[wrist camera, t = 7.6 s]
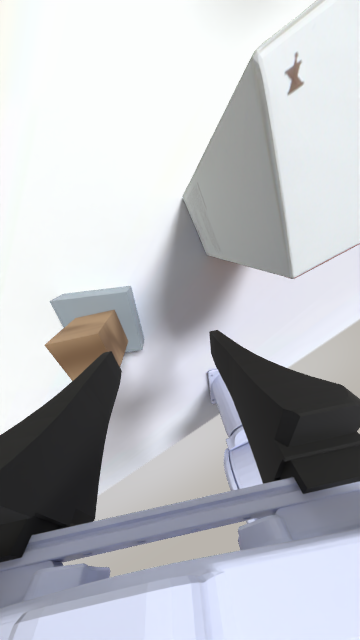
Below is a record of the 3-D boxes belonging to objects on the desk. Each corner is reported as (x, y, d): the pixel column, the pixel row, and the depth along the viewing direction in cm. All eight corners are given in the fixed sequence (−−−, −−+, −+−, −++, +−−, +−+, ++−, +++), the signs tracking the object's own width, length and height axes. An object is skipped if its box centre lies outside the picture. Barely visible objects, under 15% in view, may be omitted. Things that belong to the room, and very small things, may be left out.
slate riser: (144, 337, 22) (142, 349, 20) (90, 344, 22) (80, 358, 19) (131, 284, 19) (126, 291, 16) (65, 292, 18) (49, 301, 16)
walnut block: (128, 341, 19) (118, 371, 14) (93, 348, 19) (73, 381, 14) (114, 309, 17) (97, 333, 12) (75, 318, 17) (44, 345, 12)
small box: (206, 256, 18) (290, 284, 6) (180, 196, 15) (248, 37, 3) (271, 217, 16) (524, 162, 5) (257, 143, 14) (780, -386, 2)
